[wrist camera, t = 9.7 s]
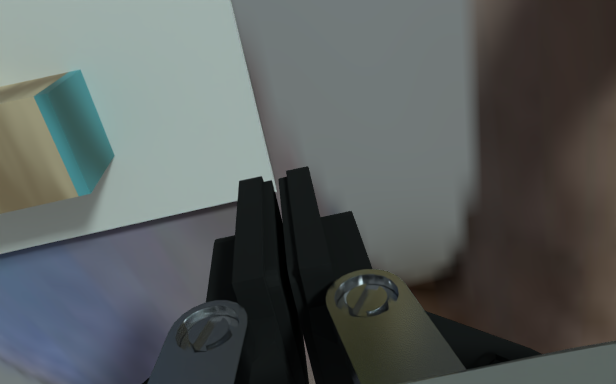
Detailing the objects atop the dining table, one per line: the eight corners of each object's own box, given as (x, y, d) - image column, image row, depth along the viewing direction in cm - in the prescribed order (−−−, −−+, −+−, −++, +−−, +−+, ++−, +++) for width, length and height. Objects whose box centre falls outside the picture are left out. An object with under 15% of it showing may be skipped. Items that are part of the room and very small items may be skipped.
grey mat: (216, -58, 25) (216, -59, 24) (275, 186, 31) (276, 191, 30) (-222, 33, 24) (-236, 36, 24) (-71, 264, 30) (-79, 271, 30)
